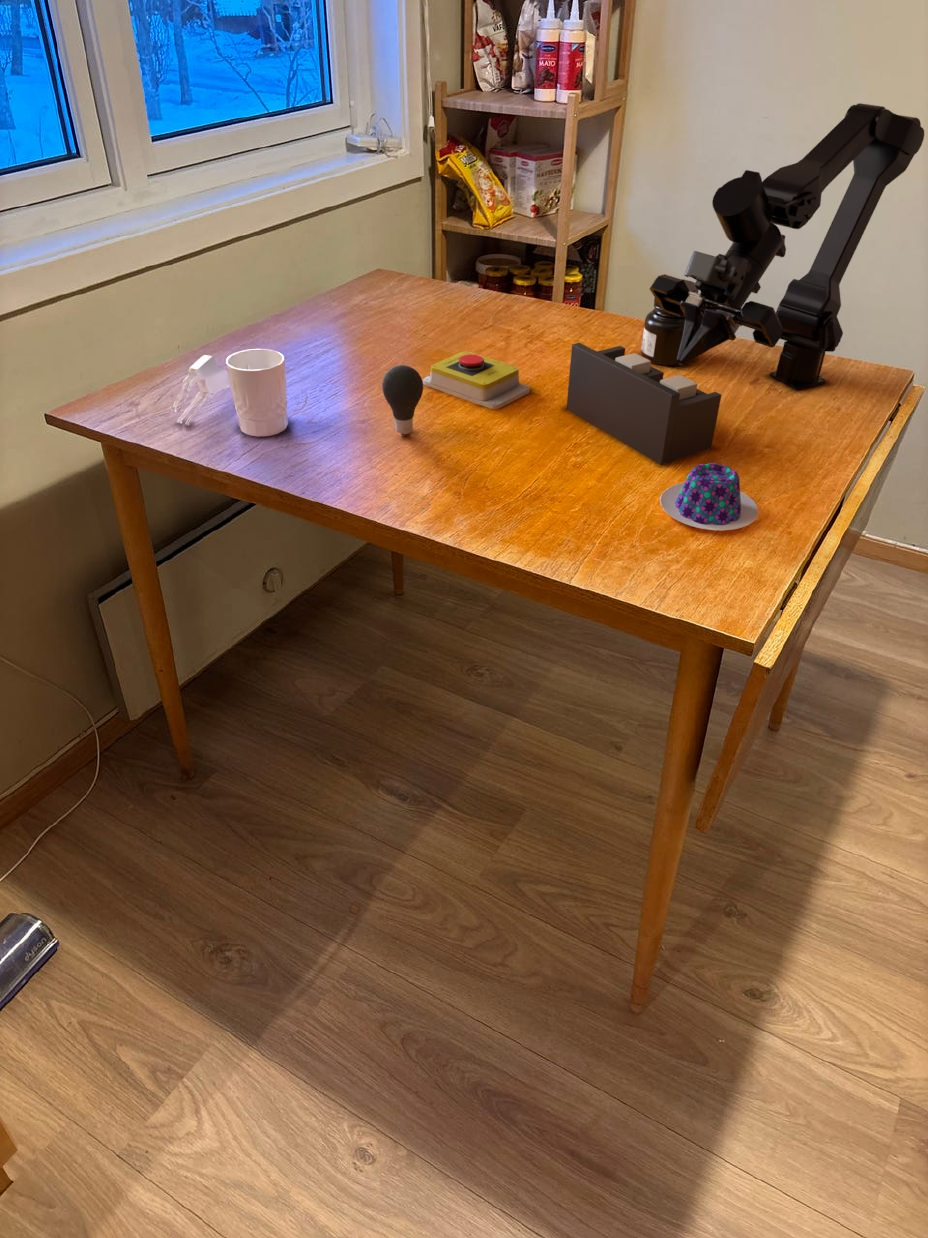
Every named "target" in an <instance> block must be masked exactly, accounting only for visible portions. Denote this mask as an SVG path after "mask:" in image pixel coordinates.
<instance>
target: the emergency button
mask: <svg viewBox="0 0 928 1238" xmlns="http://www.w3.org/2000/svg"><path fill="white" fill-rule="evenodd" d="M519 375H520V372H519V367H517V366H514V365H511V364H508V363H505V362H502V361H499V360H496V359H492V358H489V357H486V356H483V355H480V354H477V353H474V352H471V351H467V350H466V351H461V352H459V353H456V354H453V355H452V356H450V357H449V356H448V357H447V358H445V359H442V360H440V361H438V362H436V363H433V364H431V366H430V375H427V376H425V377H424V378H423V379H422V381H423V386H426V387H428V388H432V389H434V390H436V391H440V392H443V393H445V394H448V395H451V396H454V397H457V398H460V399H462V400H465V401H468V402H470V403H473V404H476V405H479V406H482V407H485V408H488V409H490V410H498V409H502V408H503V407H505V406H506V405H509V404H511V403H513V402H515V401H517V400H518V399H520V398H522V397H524V396H526V395H528V394H530V391H531V387H530V386H529V385H526V384H524V383H520V379H519V378H520V376H519Z"/></svg>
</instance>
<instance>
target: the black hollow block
mask: <svg viewBox="0 0 928 1238" xmlns="http://www.w3.org/2000/svg"><path fill="white" fill-rule="evenodd" d="M570 351H571V352H570V362H569V363H570V364H569V376H568V385H567V396H566V408H565V409H566V411H568V412H570V413H572V414H573V415H575V416H577V417H579V418H580V419H582V420H584V421H585V422H587V423H589V424H591V425H592V426H594V427H596V428H597V429H599V430H600V431H602V432H604V433H606V434H608V435H609V436H611V437H613V438H614V439H616V440H618V441H619V442H621V443H623V444H625V445H626V446H628V447H630V448H631V449H633V450H634V451H637V452H638V453H640V454H642V455H643V456H645V457H646V458H648V459H650V460H652V461H653V462H655V463H657V464H659V465H660V466H662V465H666V464H668V463H671V462H675V461H678V460H680V459H684V458H687V457H690V456H693V455H696V454H699V453H702V452H705V451H708V450H711V449H712V447H713V441H714V435H715V431H716V426H717V421H718V415H719V410H720V405H721V400H722V394H721V393H719V392H717V391H712V392H709V393H707V394H706V395H702V396H699V397H696V398H692V399H689V400H685V401H682V402H679V396H680V393H679V392H677V391H675V390H673V389H671V388H669V387H667V386H665V385H663V384H661V383H659V382H657V381H655V380H653V379H651V378H649V377H647V376H645V375H643V374H641V373H639V372H637V371H635V370H633V369H631V368H629V367H627V366H625V365H623V364H621V363H619V362H617V361H615V359H616V358H617V357H621V356H625V355H626V347H624V346H621V345H618V346H614V347H609V348H605V349H601V350H598V351H597V350H595V349H593V348H591V347H589V346H587V345H585V344H583V343H581V342H576V343H573V344H571V350H570Z"/></svg>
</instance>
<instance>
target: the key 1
mask: <svg viewBox="0 0 928 1238" xmlns="http://www.w3.org/2000/svg"><path fill="white" fill-rule="evenodd" d="M615 361H617V362H619V363H621V364H623V365H625V366H627V367H629V368H631V369H633V370H635V371H637V372H639V373H641V374H645V373H648V372H649V371H650V366H651V363H652V362H651V361H650V360H648V359H646V358H644V357H642V355H640V354H638V353H635V352H633V353H629V354H625V356H621V357H617V358H616V359H615Z"/></svg>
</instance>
